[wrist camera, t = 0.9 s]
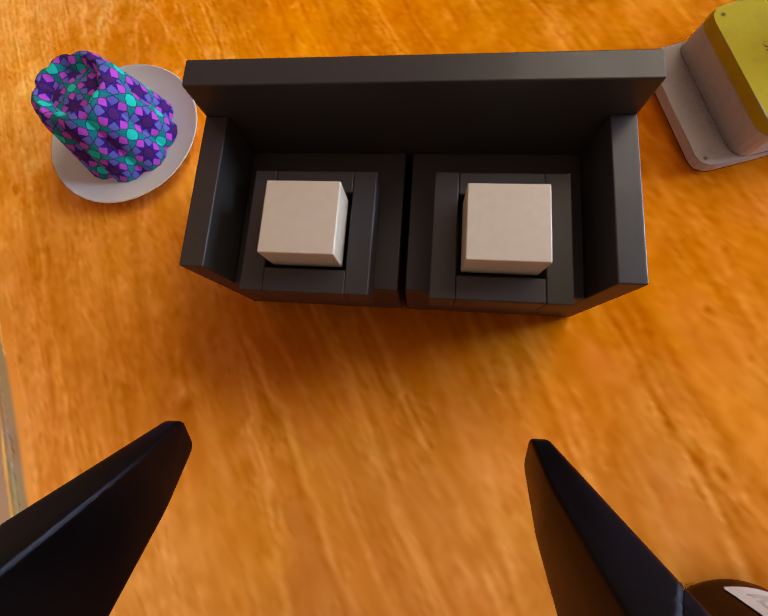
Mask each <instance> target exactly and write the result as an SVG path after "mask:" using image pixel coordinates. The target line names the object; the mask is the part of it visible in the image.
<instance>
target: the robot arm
mask: <svg viewBox="0 0 768 616" xmlns="http://www.w3.org/2000/svg"><path fill="white" fill-rule="evenodd" d="M191 449H192V441H191V439H190V436H189V434H188V432H187V429H186V427H185V425H184V423H182V422H181V421H165V422H163V423H162V424H160V425H158V426H157V427H155V428H154V429H152V430H150V431H149V432H147V433H146V434H144V435H142V436H141V437H139V438H138V439H136V440H135V441H133V442H131V443H130V444H128V445H127V446H125V447H123V448H122V449H120V450H119V451H117V452H115V453H114V454H112V455H111V456H109V457H107V458H106V459H104V460H103V461H101V462H100V463H98V464H96V465H95V466H93V467H92V468H90V469H88V470H87V471H85V472H84V473H82V474H80V475H79V476H77V477H76V478H74V479H72V480H71V481H69V482H68V483H66V484H65V485H63V486H61V487H60V488H58V489H57V490H55V491H53V492H52V493H50V494H49V495H47V496H45V497H44V498H42V499H41V500H39V501H37V502H36V503H34V504H33V505H31V506H29V507H28V508H26V509H25V510H23V511H22V512H20V513H18V514H17V515H15V516H14V517H12V518H10V519H9V520H7V521H6V522H4V523H3V524H1V525H0V616H109V614H110V612H111V611H112V609H113V607H114V605H115V603H116V601H117V599H118V598H119V596H120V594H121V592H122V590H123V588H124V586H125V585H126V583H127V581H128V579H129V577H130V575H131V573H132V572H133V570H134V568H135V566H136V564H137V562H138V560H139V559H140V557H141V555H142V553H143V551H144V549H145V547H146V546H147V544H148V542H149V540H150V538H151V536H152V534H153V533H154V531H155V529H156V527H157V525H158V523H159V521H160V520H161V518H162V516H163V514H164V512H165V510H166V508H167V506H168V504H169V501H170V499H171V497H172V495H173V492H174V490H175V488H176V485H177V483H178V481H179V478H180V476H181V474H182V471H183V469H184V467H185V464H186V462H187V459H188V457H189V455H190V452H191ZM525 474H526V480H527V486H528V492H529V498H530V504H531V510H532V516H533V522H534V528H535V533H536V538H537V542H538V546H539V550H540V554H541V557H542V561H543V565H544V568H545V572H546V575H547V579H548V583H549V586H550V590H551V593H552V597H553V601H554V604H555V608H556V611H557V615H558V616H711V615H710V614H709V613H708V612H707V611H706V610H705V609H704V608H703V607H702V606H701V604H700V603H699V602H698V601H697V600H696V599H695V598H694V597H693V596H692V595H691V594H690V593H689V591H687V590H685V589H684V590H683V585H682V584H681V583H680V582H679V581H678V580H677V579H676V578H675V577H674V575H673V574H672V573H671V572H670V571H669V570H668V569H667V568H666V567H665V566H664V565H663V564H662V562H661V561H660V560H659V559H658V558H657V557H656V556H655V555H654V554H653V553H652V552H651V551H650V549H649V548H648V547H647V546H646V545H645V544H644V543H643V542H642V541H641V540H640V539H639V538H638V536H637V535H636V534H635V533H634V532H633V531H632V530H631V529H630V528H629V527H628V526H627V525H626V523H625V522H624V521H623V520H622V519H621V518H620V517H619V516H618V515H617V514H616V513H615V512H614V510H613V509H612V508H611V507H610V506H609V505H608V504H607V503H606V502H605V501H604V500H603V499H602V497H601V496H600V495H599V494H598V493H597V492H596V491H595V490H594V489H593V488H592V487H591V486H590V484H589V483H588V482H587V481H586V480H585V479H584V478H583V477H582V476H581V475H580V474H579V473H578V471H577V470H576V469H575V468H574V467H573V466H572V465H571V464H570V463H569V462H568V461H567V460H566V458H565V457H564V456H563V455H562V454H561V453H560V452H559V451H558V450H557V449H556V448H555V447H554V445H553V444H552V443H551V442H550V441H548V440H545V439H531V440H530V441H529V444H528V448H527V453H526V458H525Z"/></svg>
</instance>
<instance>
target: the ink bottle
mask: <svg viewBox="0 0 768 616" xmlns="http://www.w3.org/2000/svg"><path fill="white" fill-rule="evenodd" d="M685 590H687V591H689V593H690V594H691V595H692V596H693V597H694V598H695V599H696V600H697V601H698V602H699V603H700V604H701V606H702V607H703V608H704V609H705V610H706V611H707V612H708V613H709V614H710V615H711V616H768V590H767V589H765V588H762V587H760V586H758V585H755V584H752V583H749V582H745V581H740V580H733V579H716V580H710V581H705V582H702V583H699V584H696V585H693V586H691V587H689V588H687V589H685Z"/></svg>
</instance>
